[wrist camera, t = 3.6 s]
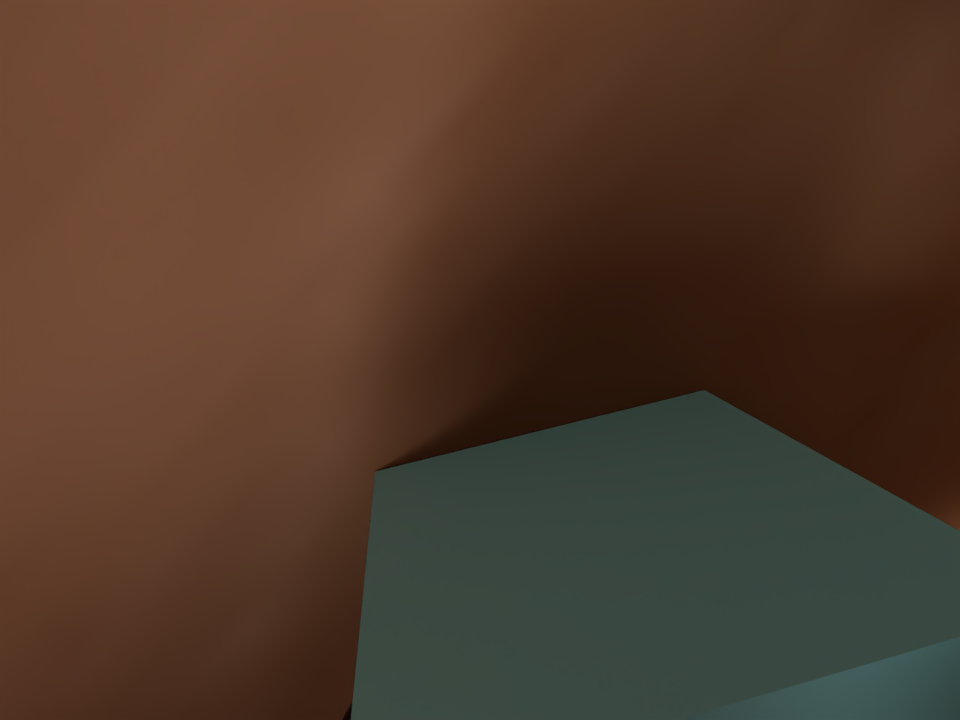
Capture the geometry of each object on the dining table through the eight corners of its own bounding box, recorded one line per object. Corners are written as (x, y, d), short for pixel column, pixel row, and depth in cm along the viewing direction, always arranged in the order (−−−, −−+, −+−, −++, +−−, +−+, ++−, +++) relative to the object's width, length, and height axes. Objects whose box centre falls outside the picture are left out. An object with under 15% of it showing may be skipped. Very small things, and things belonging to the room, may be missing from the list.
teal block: (450, 744, 10) (502, 1276, 5) (374, 471, 8) (340, 819, 3) (734, 662, 10) (1049, 1076, 5) (704, 390, 9) (1084, 599, 4)
